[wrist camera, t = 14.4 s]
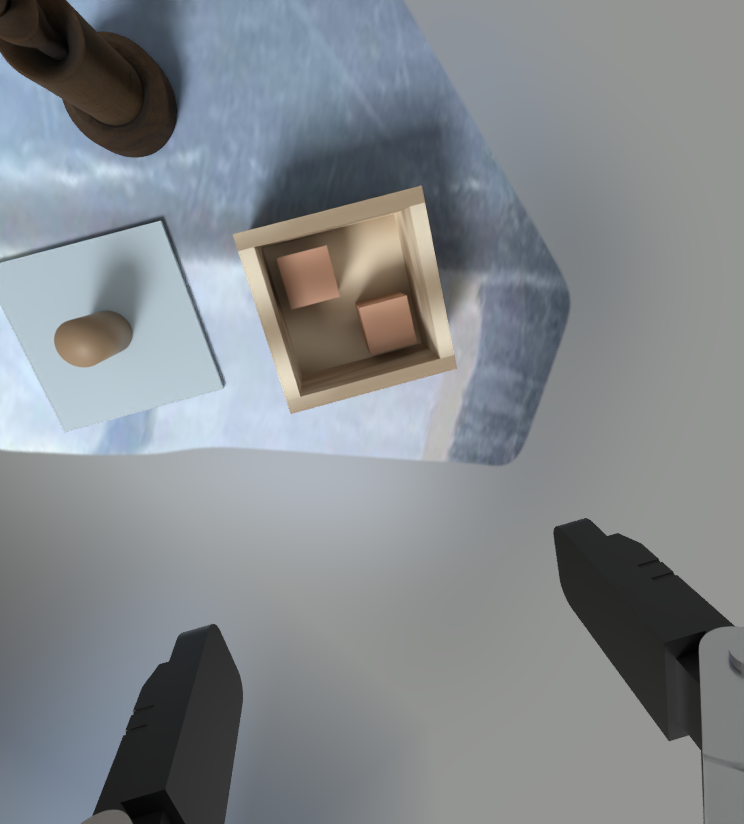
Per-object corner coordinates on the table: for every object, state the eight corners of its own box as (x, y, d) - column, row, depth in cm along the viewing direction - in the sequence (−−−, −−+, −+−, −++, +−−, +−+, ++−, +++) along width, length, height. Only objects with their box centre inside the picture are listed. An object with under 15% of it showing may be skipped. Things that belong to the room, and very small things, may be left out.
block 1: (279, 257, 36) (276, 258, 33) (325, 245, 36) (326, 245, 33) (293, 304, 37) (291, 309, 34) (337, 292, 37) (340, 296, 34)
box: (246, 237, 36) (232, 234, 30) (401, 197, 37) (421, 185, 30) (294, 387, 40) (290, 413, 33) (433, 349, 40) (456, 368, 34)
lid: (-10, 267, 35) (-71, 270, 30) (164, 221, 36) (136, 215, 30) (70, 428, 40) (30, 457, 34) (225, 385, 40) (210, 407, 34)
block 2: (354, 303, 38) (359, 307, 34) (398, 291, 38) (406, 295, 34) (365, 346, 39) (371, 355, 35) (407, 335, 39) (416, 342, 36)
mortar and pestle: (51, 86, 32) (-243, -102, 15) (126, 22, 31) (-92, -251, 14) (126, 178, 34) (-57, 104, 17) (198, 119, 33) (81, -18, 16)
